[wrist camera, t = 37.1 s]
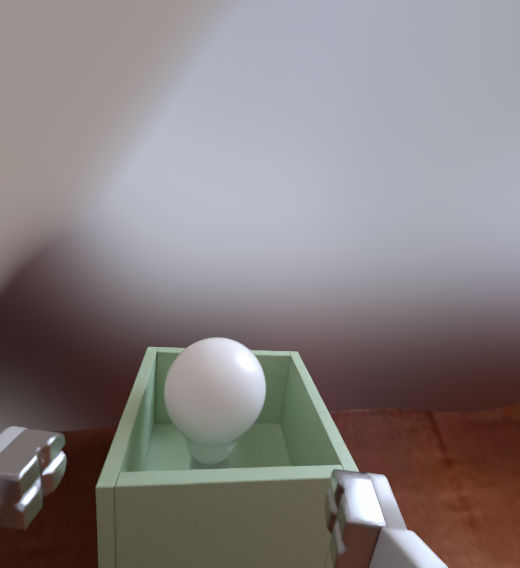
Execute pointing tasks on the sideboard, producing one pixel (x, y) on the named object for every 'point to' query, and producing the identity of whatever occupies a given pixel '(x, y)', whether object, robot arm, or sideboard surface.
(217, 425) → the lightbulb
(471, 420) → the sideboard surface
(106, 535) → the bin
